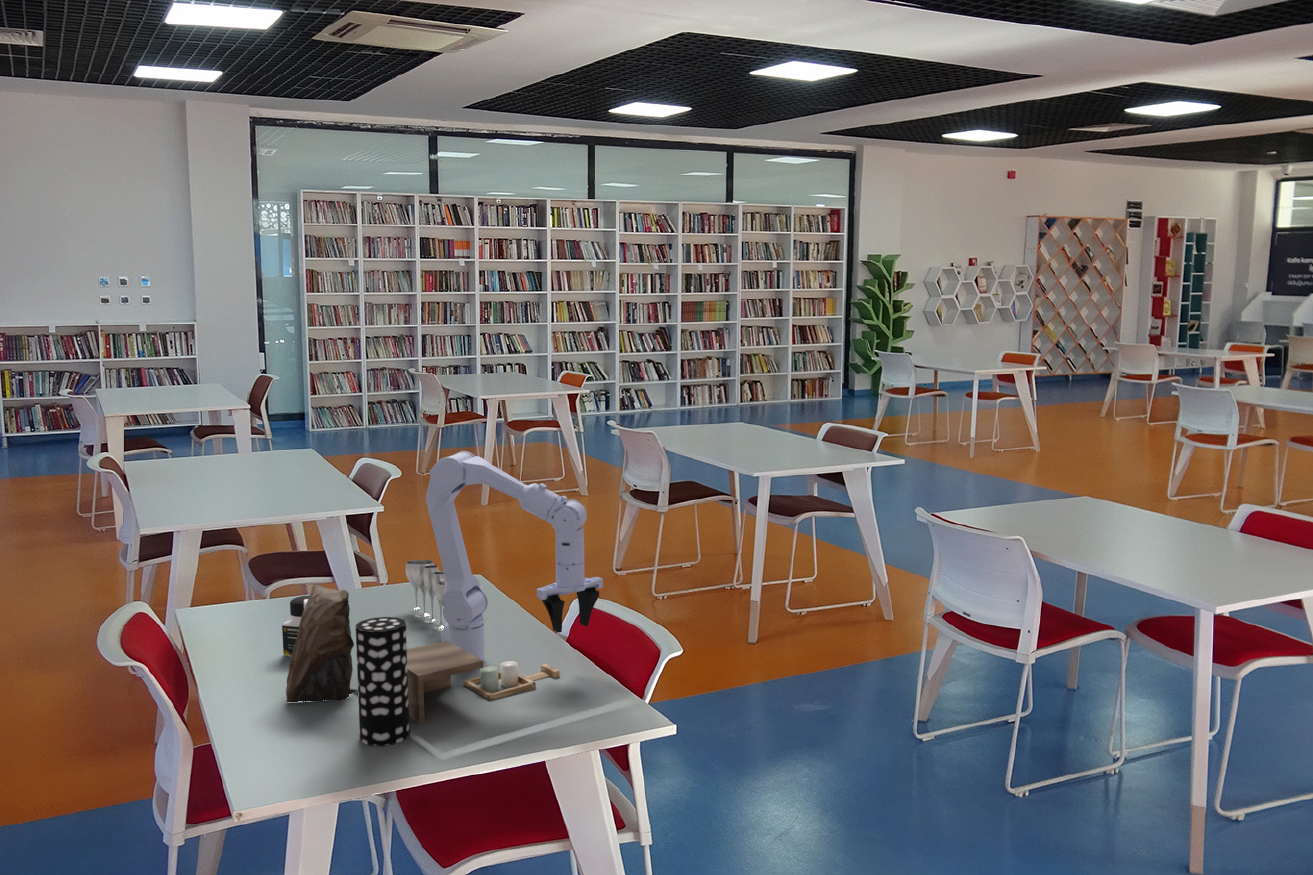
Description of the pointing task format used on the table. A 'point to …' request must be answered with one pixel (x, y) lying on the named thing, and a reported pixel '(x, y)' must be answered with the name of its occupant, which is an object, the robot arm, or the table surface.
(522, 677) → the oak tray
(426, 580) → the goblet set
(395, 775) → the table surface
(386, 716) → the white-spotted black cylinder
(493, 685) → the grey-green round cylinder
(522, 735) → the table surface
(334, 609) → the brown rock
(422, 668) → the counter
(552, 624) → the robot arm
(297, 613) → the medicine bottle
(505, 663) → the off-white round cylinder
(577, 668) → the table surface
